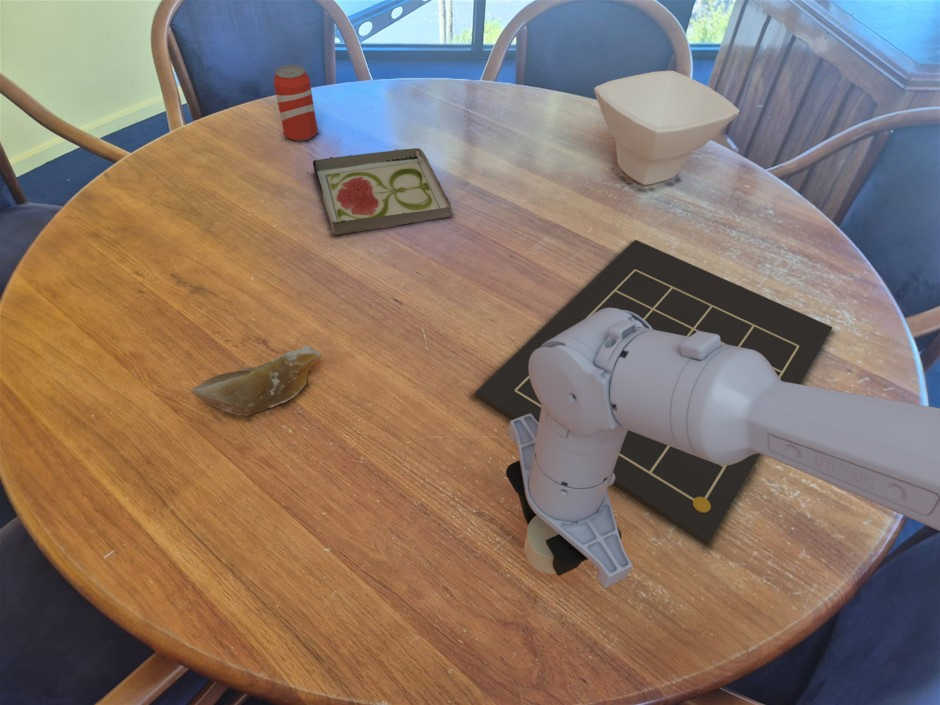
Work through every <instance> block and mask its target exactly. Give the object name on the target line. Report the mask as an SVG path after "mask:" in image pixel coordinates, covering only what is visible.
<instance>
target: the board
mask: <svg viewBox="0 0 940 705" xmlns="http://www.w3.org/2000/svg"><path fill="white" fill-rule="evenodd" d="M604 308H617V309H620V310H627V311H630V312H633V313H635V314H637V315H638V316H640V317H641V318H643V319H644V320H645V321H646V322H647V323H648V324H649V325H650V326H651V327H652V329H653V330H658V331H663V332H668V333H673V334H678V335H683V336H687V337H690V336H692V335H693V334H694V333H696V332H698V331H702V332H707V333H713V334H717V335H719V336H720V340H721V343H722V344H727V345H732V346H737V347H741V348H746V349H751V350H755V351H757V352H759V353H760V354H762V355H763V356H764V357H765V358H766V359H767V361H768V362H769V363H770V364H771V366H772V367H773V369H774V370H775V372H776V374H777V375H778V377H779V378H780V379H781V381H782V382H788V383H794V384H800V385H802V382H803V380H804V379H805V377H806V375H807V373H808V371H809V370H810V368H811V366H812V365H813V362H814V361H815V360H816V357H817V355H818V354H819V352H820V351H821V348H822V347H823V345H824V343H825V342H826V340H827V338H828V337H829V335H830V333H831V331H832V330H833V326H832V325H829V324H827V323H824V322H823V321H820V320H818V319H816V318H814V317H811V316H809V315H807V314H804V313H802V312H799V311H797V310H795V309H793V308H792V307H788V306H787V305H784V304H782V303H779V302H777V301H775V300H773V299H770V298H768V297H766V296H764V295H761V294H759V293H757V292H755V291H752V290H750V289H748V288H745V287H743V286H741V285H739V284H736V283H734V282H732V281H730V280H727V279H725V278H723V277H722V276H718V275H716V274H714V273H711V272H710V271H707V270H705V269H703V268H700V267H699V266H696V265H693V264H691V263H690V262H687V261H685V260H683V259H680V258H678V257H676V256H673V255H671V254H669V253H667V252H664V251H662V250H660V249H658V248H656V247H653V246H651V245H648V244H646V243H644V242H642V241H639V240H638V239H634V240H633V241H632V242H631V243H630V244H629V245H628V246H627V247H626V248H625V249H624V250H622V252H620V254H619V255H618V256H616V258H615V259H613V260H612V261H611V262H610V263H609V264H608V265H607V266H606V267H605V268H604V269H603V270H602V271H600V273H599V274H597V275H596V276H595V277H594V278H593V279H592V280H591V281H590V282H589V283H588V284H587V285H586V286H585V287H584V288H583V289H582V290H581V291H580V292H579V293H577V295H575V296H574V297H573V298H572V299H571V301H569V302H568V303H567V304H566V305H565V306H564V307H563V308H562V309H561V310H560V311H559V312H558V313H557V314H556V315H555V316H553V318H551V319H550V320H549V321H548V322H547V323H546V324H545V325H544V326H543V327H542V328H541V329H540V330H538V332H537V333H536V334H535V335H534V336H532V338H530V339H529V340H528V341H527V342H526V343H525V344H524V345H523V346H522V347H521V348H520V349H519V350H518V351H517V352H515V353H514V355H513V356H511V357H510V359H508V360H507V361H506V362H505V363H504V364H503V365H502V366H501V367H500V368H499V369H498V370H497V371H496V372H495V373H494V374H493V375H492V376H491V377H490V378H488V379H487V380H486V381H485V382H484V383H483V384H482V385H480V387H479V388H478V389H476V391H475V398H476V399H478V400H480V401H481V402H483V403H484V404H486V405H487V406H488V407H490V408H492V409H493V410H495V411H497V412H498V413H500V414H501V415H503V416H504V417H506V418H508V419H509V420H510V421H511V420H514V419H516V418H519V417H522V416H524V415H527V414H530V413H531V414H532V415H533V417H534V418H535V419H536V421H537V422H538V423H539V418H540V413H541V407H542V404H541V403H540V401H539V399H538V398H537V396H536V394H535V392H534V389H533V387H532V384H531V381H530V377H529V369H528V365H529V359H530V356H531V354H532V353H533V352H534V351H535V350H536V349H538V348H540V347H541V346H542V344H544V343H545V342H547V341H548V340H550V339H552V338H554V337H555V336H557V335H559V334H560V333H562V332H564V331H565V330H567V329H569V328H570V327H572V326H574V325H576V324H577V323H579V322H581V321H582V320H584V319H586V318H587V317H589V316H591V315H592V314H594V313H596V312H598V311H599V310H601V309H604ZM760 455H761V454H760V453H757V454H753V455H751V456H749V457H747V458H745V459H744V460H742V461H740V462H737V463H735V464H732V465H725V466H724V465H718V464H716V463H713V462H710V461H708V460H705V459H702V458H699V457H697V456H694V455H691V454H689V453H687V452H684V451H681V450H679V449H676V448H674V447H671V446H668V445H666V444H663V443H661V442H658V441H655V440H653V439H650V438H648V437H645V436H642V435H640V434H637V433H634V432H632V431H629V430H628V431H627V434H626V436H625V439H624V442H623V445H622V447H621V450H620V453H619V456H618V459H617V462H616V464H615V467H614V471H613V473H614V474H615V480H614V483H613V484H612V485H611V486H614V487H616V488H617V489H619V490H620V491H621V492H623V493H625V494H626V495H628V496H630V497H631V498H633V499H634V500H636V501H637V502H639V503H640V504H642V505H644V506H645V507H647V508H649V509H650V510H651V511H653V512H654V513H656V514H658V515H659V516H660V517H663V518H664V519H665V520H667V521H668V522H670V523H672V524H673V525H675V526H677V527H678V528H680V529H681V530H683V531H684V532H686V533H687V534H689V535H690V536H692V537H694V538H696V539H697V540H699V541H700V542H702V543H703V544H704V545H707V546H708V545H709V544H710V542H711V541H712V539H713V537H714V535H715V534H716V532H717V531H718V528H719V527H720V525H721V523H722V521H723V519H724V518H725V516H726V514H728V511H729V509H730V508H731V507H732V504H733V502H734V500H735V499H736V497H737V495H738V494H739V492H740V490H741V488H742V486H743V484H744V483H745V481H746V479H747V478H748V476H749V474H750V473H751V471H752V469H753V467H754V465H755V464H756V462H757V460H758V459H759V457H760Z"/></svg>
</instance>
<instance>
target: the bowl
mask: <svg viewBox="0 0 940 705" xmlns="http://www.w3.org/2000/svg"><path fill="white" fill-rule="evenodd" d="M593 93H594V95H595V97H596V100H597V103H598V106H599V109H600V111H601V114H602V116H603V117H602V118H603V119H604V122H605V124H606V127H607V130H608V132H609V133H610V134H611V135H612V137H613V138H614V141H615V151H616V161H617V165H618V167H619V168H620V170H621V171H622V172H623V173H624V174H626V175H627V176H628V177H629V178H631V179H632V180H634V181H635V182H637V183H639V184H641V185H644V186H646V185H653V184H654V185H655V184H657V183H661V182H664V181H667V180H671V179H673V178H675V177H676V176H677V175H679V173H680V171H682V168H683V167H684V166H685V164H686V163H687V161H688V160H689V158H690V157H691V155H692V154H693V153H694V152H696V151H697V150H700V149H702V148H703V147H704V146H706V145H707V144H708V143H709V142H710V141H711V140H712V139H713V138H714V137H715V136H716V135H718V134H719V133H720V132H721V131H722V130H723V129H724V128H725V127H726V126H727V125H728V124H730V123H731V121H733V120H734V119H735V118H736V117H737V116H739V114H740V110H739V108H738V107H736V106H735V105H734V104H733V103H732V102H731V101H730V100H728V99H727V98H726V97H725V96H723V95H722V94H720V93H719V92H717V91H715V90H714V89H712V88H711V87H709V86H707V85H706V84H704V83H701V82H700V81H698V80H695V79H693V78H692V77H690V76H688V75H685V74H682V73H679V72H677V71H675V70H659V71H651V72H646V73H640V74H635V75H630V76H626V77H622V78H617V79H613V80H609V81H607V82H604V83H601V84H599V85H597V86H595V87H594V88H593Z"/></svg>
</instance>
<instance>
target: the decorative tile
mask: <svg viewBox="0 0 940 705" xmlns="http://www.w3.org/2000/svg"><path fill="white" fill-rule="evenodd" d="M312 166H313V171H314V174H315V177H316V180H317V183H318V186H319V189H320V193H321V196H322V199H323V203H324V206H325V209H326V213H327V215H328V216H327V217H328V219H329V221H330V222H329V223H330V226H331V228H332V234H333V235H335V236H341V235H345V234H353V233H358V232H364V231H372V230H379V229H386V228H392V227H396V226H401V225H408V224H412V223H419V222H424V221H430V220H436V219H442V218H443V219H444V218H449V217H451V216H452V208H451V206H452V204H451V202H450V201H449V198H448V197H447V195H446V194H445V191H444V188H442V186H441V183H440V181H439V179H438V178H437V176H436V173H435V171H434V169H433V168H432V166H431V164H430V162H429V159H428V157H427V156H426V154H425V152H424V151H423V150H422V149H421V148H419V147H415V148H404V149H397V148H396V149H393V150H386V151H377V152H370V153H369V152H368V153H361V154H360V153H359V154H350V155H344V156H343V155H342V156H336V157H334V156H329V158H328V157H327V158H320V159H313V160H312Z"/></svg>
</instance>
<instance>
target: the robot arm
mask: <svg viewBox="0 0 940 705" xmlns="http://www.w3.org/2000/svg"><path fill="white" fill-rule="evenodd" d="M528 369H529V377H530V381H531V384H532V387H533V389H534V392H535V394H536V396H537V398H538V399H539V401H540V403H541V404H542V407H541V413H540V418H539V423H538V422H537V421H536V419H535V418H534V417H533V415H532V414H531V413H530V414H527V415H524V416H522V417H519V418H516V419H514V420H511V419H510V421H509V426H508V436H509V438H510V440H511V441H512V442H513V443H514V444H516V447H517V453H518V459H519V460H517V461H514V462H512V463H510V464H509V465H508V466H507V468H506V470H505V476H506V478H507V480H508V481H509V482H510V484H511V487H512V488H513V490H514V491H515V493H516V494H517V495H518V499H519V502H520V506H521V510H522V514H523V518H524V520H525V522H526V523H527V526H528V525H529V523H530V521H531V520H532V518H533V517H535V516H536V515H538V516H539V517H540V518H541V519H542V520H543V521H544V522H546V523H547V524H548V525H549V526H550V527H551V528H553V529H554V530H555V531H556V532H557V533H558V535H556V536H554V537H551V538H549V539H547V540H546V544H547V546H548V547H549V549H550V551H551V552H552V554H553V568H554V570H555V572H556V573H557V574H556V575H557V576H562V575H564V574H566V573H568V572H570V571H573V570H574V569H576V568H578V567H579V566H580V565H581V564H582V563H583V562H585V561H587V560H588V561H590V562H591V563H592V565H594V566H595V567H596V568H597V570H598V573H597V576H596V577H597V578H598V580H599V582H600V584H601V585H602V587H603V588H604V589H606V588H610V587H611V586H613V585H615V584H617V583H619V582H621V581H623V580H625V579H627V578H628V576H629V575H630V573H631V571H632V569H633V567H634V564H633V563H632V561H631V560H630V558H629V556H628V554H627V552H626V550H625V548H624V544H623V543H622V532H621V530H620V528H619V526H618V524H617V521H616V516H615V514H614V510H613V506H612V502H611V499H610V495H609V491H608V487H611V486H613V485H612V484H613V483H614V480H615V474H614V473H613V471H614V467H615V464H616V462H617V459H618V456H619V453H620V450H621V447H622V445H623V442H624V439H625V436H626V434H627V431H628V430H629V431H632V432H634V433H637V434H640V435H642V436H645V437H648V438H650V439H653V440H655V441H658V442H661V443H663V444H666V445H668V446H671V447H674V448H676V449H679V450H681V451H684V452H687V453H689V454H691V455H694V456H697V457H699V458H702V459H705V460H708V461H710V462H713V463H716V464H718V465H724V466H725V465H732V464H735V463H737V462H740V461H742V460H744V459H745V458H747V457H749V456H751V455H753V454H757V453H760V455H762V456H765V457H767V458H770V459H772V460H774V461H776V462H779V463H781V464H783V465H785V466H788V467H790V468H793V469H794V470H795V469H796V470H797V471H800V472H801V473H804V474H807V475H809V476H810V477H814V478H816V479H818V480H820V481H822V482H825V483H827V484H830V485H832V486H833V487H837V488H839V489H841V490H843V491H845V492H848V493H851V494H853V495H856V496H858V497H860V498H863V499H865V500H866V501H869V502H872V503H873V504H876V505H879V506H881V507H883V508H884V509H885V508H886V509H888V510H890V511H893V512H895V513H897V514H899V515H901V516H904V517H906V518H908V519H911V520H914V521H915V522H918V523H919V524H923V525H924V526H927V527H929V528H932V529H935V530H936V531H939V532H940V407H936V406H935V407H934V406H928V405H923V404H917V403H910V402H905V401H900V400H899V401H898V400H893V399H887V398H883V397H882V398H881V397H875V396H871V395H865V394H864V395H863V394H859V393H858V394H857V393H852V392H846V391H839V390H835V389H828V388H823V387H817V386H812V385H806V384H794V383H788V382H782V381H781V379H780V378H779V377H778V375H777V374H776V372H775V370H774V369H773V367H772V366H771V364H770V363H769V362H768V361H767V359H766V358H765V357H764V356H763V355H762V354H760V353H759V352H757V351H755V350H751V349H746V348H741V347H737V346H732V345H727V344H722V343H721V340H720V336H719V335H717V334H713V333H707V332H702V331H698V332H696V333H694V334H693V335H692V336H690V337H687V336H683V335H678V334H673V333H668V332H663V331H658V330H653V329H652V327H651V326H650V325H649V324H648V323H647V322H646V321H645V320H644V319H643V318H641V317H640V316H638V315H637V314H635V313H633V312H630V311H627V310H620V309H617V308H604V309H601V310H599V311H598V312H596V313H594V314H592V315H591V316H589V317H587V318H586V319H584V320H582V321H581V322H579V323H577V324H576V325H574V326H572V327H570V328H569V329H567V330H565V331H564V332H562V333H560V334H559V335H557V336H555V337H554V338H552V339H550V340H548V341H547V342H545V343H544V344H542V346H541V347H540V348H538V349H536V350H535V351H534V352H533V353H532V354H531V356H530V359H529V365H528Z"/></svg>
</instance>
